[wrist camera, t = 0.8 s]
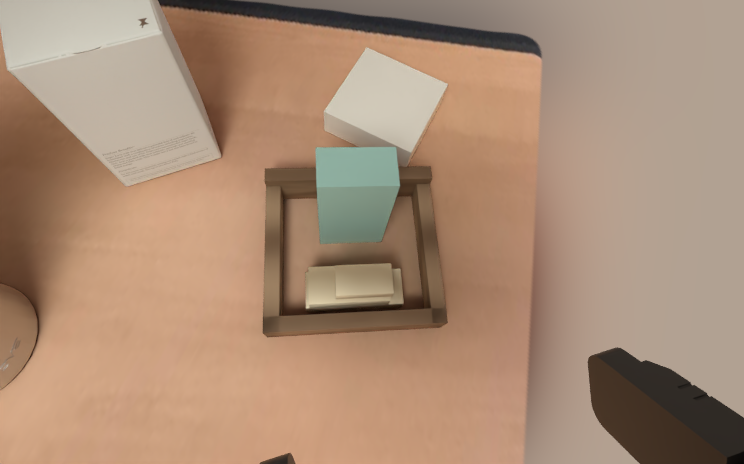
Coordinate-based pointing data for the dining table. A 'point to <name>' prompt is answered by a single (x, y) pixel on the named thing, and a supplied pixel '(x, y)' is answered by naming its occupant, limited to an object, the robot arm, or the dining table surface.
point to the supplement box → (111, 81)
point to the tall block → (355, 192)
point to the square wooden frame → (274, 324)
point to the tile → (384, 105)
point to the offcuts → (353, 287)
